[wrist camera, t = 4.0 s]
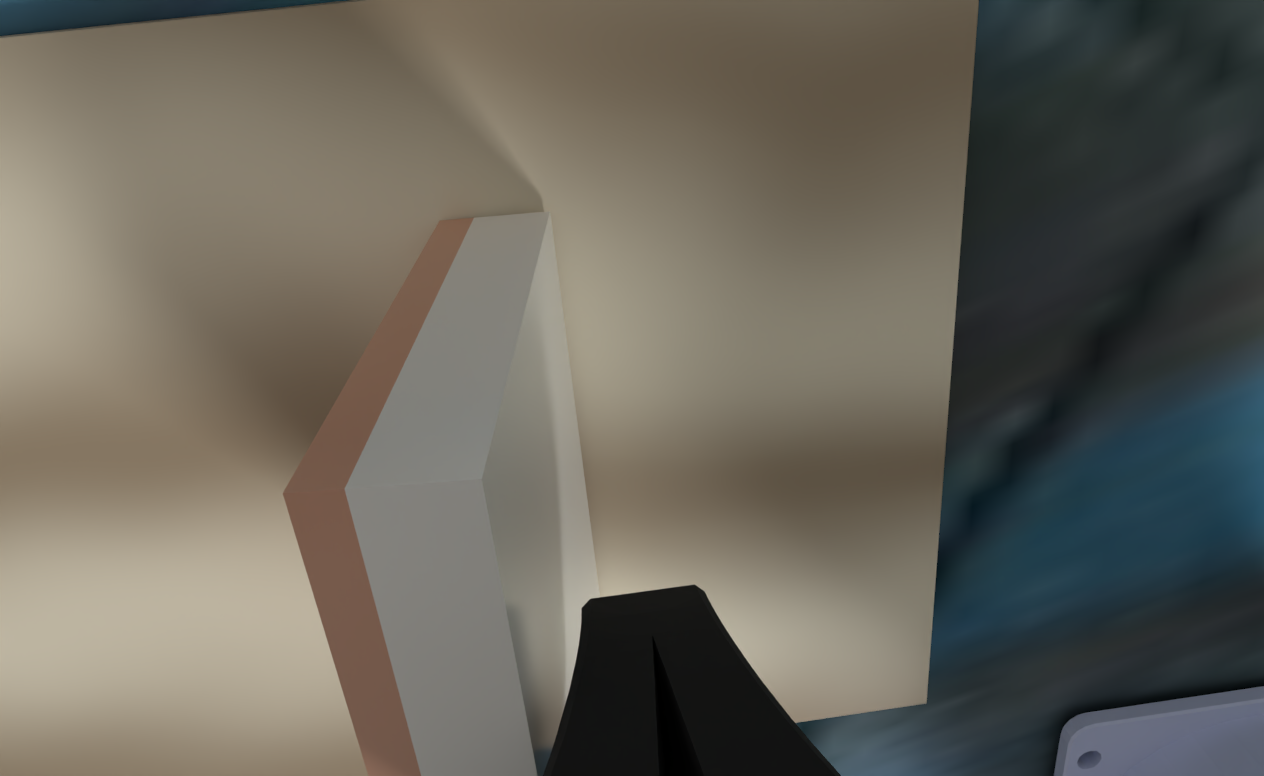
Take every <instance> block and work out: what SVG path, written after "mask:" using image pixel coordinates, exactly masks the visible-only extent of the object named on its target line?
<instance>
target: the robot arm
mask: <svg viewBox="0 0 1264 776" xmlns="http://www.w3.org/2000/svg"><path fill="white" fill-rule="evenodd" d="M543 776H841V775H840V774H839V773H838V772H837V771H836V769H835V768H834V767H833V766H832V765H831V764H830V763H829V762H828V761H827V759H826V758H825V757H824V756H823V755H822V754H821V753H820V752H819V750H818V749H817V748H816V747H815V746H814V745H813V744H812V743H811V741H810V740H809V739H808V738H807V737H806V735H805V734H804V733H803V732H802V731H801V729H800V728H799V727H798V726H797V725H796V724H795V722H794V721H793V720H792V719H791V717H790V716H789V715H788V714H787V712H786V711H785V710H784V708H783V707H782V706H781V705H780V703H779V702H778V701H777V700H776V698H775V697H774V696H773V694H772V693H771V692H770V691H769V689H768V688H767V687H766V686H765V684H764V683H763V682H762V680H761V679H760V678H759V676H758V675H757V674H756V672H755V671H754V669H753V668H752V667H751V665H750V664H749V663H748V661H747V660H746V658H745V657H744V655H743V654H742V652H741V651H740V649H739V648H738V647H737V645H736V644H735V642H734V641H733V639H732V638H731V636H730V635H729V633H728V631H727V630H726V628H725V627H724V625H723V624H722V622H721V620H720V619H719V617H718V615H717V614H716V612H715V610H714V608H713V607H712V605H711V603H710V601H709V599H708V597H707V595H706V593H705V591H703V590H702V589H701V588H699V587H698V586H696V585H695V584H694V585H687V586H680V587H672V588H665V589H658V590H650V591H643V592H636V593H628V594H621V595H614V596H606V597H599V598H592V599H590V600H589V601H588V602H587V603H586V604H585V605H584V606H583V607H582V611H581V631H580V639H579V646H578V652H577V657H576V662H575V667H574V671H573V676H572V680H571V685H570V689H569V693H568V696H567V700H566V703H565V707H564V710H563V714H562V717H561V721H560V724H559V728H558V731H557V735H556V738H555V742H554V745H553V748H552V751H551V754H550V757H549V760H548V763H547V765H546V768H545V771H544V774H543ZM1054 776H1264V686H1261V687H1254V688H1248V689H1241V690H1234V691H1227V692H1221V693H1214V694H1207V695H1201V696H1194V697H1187V698H1180V699H1174V700H1167V701H1160V702H1154V703H1147V704H1140V705H1134V706H1127V707H1120V708H1113V709H1107V710H1100V711H1093V712H1087V713H1083V714H1079V715H1076V716H1075V717H1073V718H1071V719H1070V720H1069V721H1068V722H1067V723H1066V724H1065V725H1064V727H1063V729H1062V732H1061V735H1060V741H1059V747H1058V753H1057V759H1056V765H1055V771H1054Z"/></svg>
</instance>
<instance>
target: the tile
mask: <svg viewBox="0 0 1264 776" xmlns="http://www.w3.org/2000/svg"><path fill="white" fill-rule="evenodd" d="M283 496H284V500H285V503H286V506H287V510H288V513H289V516H290V519H291V523H292V526H293V529H294V533H295V536H296V539H297V542H298V546H299V549H300V552H301V556H302V559H303V562H304V566H305V569H306V572H307V575H308V579H309V582H310V585H311V589H312V592H313V595H314V598H315V602H316V605H317V608H318V612H319V615H320V618H321V622H322V625H323V628H324V631H325V635H326V638H327V641H328V645H329V648H330V651H331V654H332V658H333V661H334V664H335V668H336V671H337V674H338V677H339V681H340V684H341V687H342V691H343V694H344V697H345V701H346V704H347V707H348V710H349V714H350V717H351V720H352V724H353V727H354V730H355V733H356V737H357V740H358V743H359V747H360V750H361V753H362V757H363V760H364V763H365V766H366V770H367V773H368V776H543V774H544V771H545V768H546V765H547V763H548V760H549V757H550V754H551V751H552V748H553V745H554V742H555V738H556V735H557V731H558V728H559V724H560V721H561V717H562V714H563V710H564V707H565V703H566V700H567V696H568V693H569V689H570V685H571V680H572V676H573V671H574V667H575V662H576V657H577V652H578V646H579V639H580V631H581V611H582V607H583V606H584V605H585V604H586V603H587V602H588V601H589V600H590V599H592V598H599V597H600V593H599V585H598V578H597V570H596V562H595V554H594V547H593V539H592V531H591V524H590V516H589V508H588V500H587V493H586V485H585V477H584V469H583V462H582V454H581V446H580V438H579V431H578V423H577V415H576V408H575V400H574V392H573V384H572V377H571V369H570V361H569V353H568V346H567V338H566V330H565V323H564V315H563V307H562V299H561V292H560V284H559V276H558V268H557V261H556V253H555V245H554V237H553V230H552V222H551V214H550V211H548V212H536V213H524V214H512V215H500V216H488V217H476V218H464V219H452V220H440V221H439V222H438V224H437V226H436V228H435V229H434V231H433V233H432V235H431V236H430V238H429V240H428V242H427V243H426V245H425V247H424V248H423V250H422V252H421V254H420V255H419V257H418V259H417V261H416V262H415V264H414V266H413V268H412V269H411V271H410V273H409V275H408V276H407V278H406V280H405V281H404V283H403V285H402V287H401V288H400V290H399V292H398V294H397V295H396V297H395V299H394V301H393V302H392V304H391V306H390V308H389V309H388V311H387V313H386V315H385V316H384V318H383V320H382V321H381V323H380V325H379V327H378V328H377V330H376V332H375V334H374V335H373V337H372V339H371V341H370V342H369V344H368V346H367V348H366V349H365V351H364V353H363V355H362V356H361V358H360V360H359V361H358V363H357V365H356V367H355V368H354V370H353V372H352V374H351V375H350V377H349V379H348V381H347V382H346V384H345V386H344V388H343V389H342V391H341V393H340V394H339V396H338V398H337V400H336V401H335V403H334V405H333V407H332V408H331V410H330V412H329V414H328V415H327V417H326V419H325V421H324V422H323V424H322V426H321V428H320V429H319V431H318V433H317V434H316V436H315V438H314V440H313V441H312V443H311V445H310V447H309V448H308V450H307V452H306V454H305V455H304V457H303V459H302V461H301V462H300V464H299V466H298V468H297V469H296V471H295V473H294V474H293V476H292V478H291V480H290V481H289V483H288V485H287V487H286V488H285V490H284V492H283Z"/></svg>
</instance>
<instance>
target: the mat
mask: <svg viewBox="0 0 1264 776" xmlns="http://www.w3.org/2000/svg"><path fill="white" fill-rule="evenodd" d="M978 5H979V0H348V1H338V2H328V3H319V4H309V5H299V6H289V7H280V8H270V9H260V10H250V11H241V12H231V13H221V14H211V15H202V16H192V17H182V18H172V19H163V20H153V21H143V22H133V23H124V24H114V25H104V26H94V27H85V28H75V29H65V30H55V31H46V32H36V33H26V34H16V35H7V36H0V776H368V773H367V770H366V766H365V763H364V760H363V757H362V753H361V750H360V747H359V743H358V740H357V737H356V733H355V730H354V727H353V724H352V720H351V717H350V714H349V710H348V707H347V704H346V701H345V697H344V694H343V691H342V687H341V684H340V681H339V677H338V674H337V671H336V668H335V664H334V661H333V658H332V654H331V651H330V648H329V645H328V641H327V638H326V635H325V631H324V628H323V625H322V622H321V618H320V615H319V612H318V608H317V605H316V602H315V598H314V595H313V592H312V589H311V585H310V582H309V579H308V575H307V572H306V569H305V566H304V562H303V559H302V556H301V552H300V549H299V546H298V542H297V539H296V536H295V533H294V529H293V526H292V523H291V519H290V516H289V513H288V510H287V506H286V503H285V500H284V496H283V492H284V490H285V488H286V487H287V485H288V483H289V481H290V480H291V478H292V476H293V474H294V473H295V471H296V469H297V468H298V466H299V464H300V462H301V461H302V459H303V457H304V455H305V454H306V452H307V450H308V448H309V447H310V445H311V443H312V441H313V440H314V438H315V436H316V434H317V433H318V431H319V429H320V428H321V426H322V424H323V422H324V421H325V419H326V417H327V415H328V414H329V412H330V410H331V408H332V407H333V405H334V403H335V401H336V400H337V398H338V396H339V394H340V393H341V391H342V389H343V388H344V386H345V384H346V382H347V381H348V379H349V377H350V375H351V374H352V372H353V370H354V368H355V367H356V365H357V363H358V361H359V360H360V358H361V356H362V355H363V353H364V351H365V349H366V348H367V346H368V344H369V342H370V341H371V339H372V337H373V335H374V334H375V332H376V330H377V328H378V327H379V325H380V323H381V321H382V320H383V318H384V316H385V315H386V313H387V311H388V309H389V308H390V306H391V304H392V302H393V301H394V299H395V297H396V295H397V294H398V292H399V290H400V288H401V287H402V285H403V283H404V281H405V280H406V278H407V276H408V275H409V273H410V271H411V269H412V268H413V266H414V264H415V262H416V261H417V259H418V257H419V255H420V254H421V252H422V250H423V248H424V247H425V245H426V243H427V242H428V240H429V238H430V236H431V235H432V233H433V231H434V229H435V228H436V226H437V224H438V222H439V221H440V220H452V219H464V218H476V217H488V216H500V215H512V214H524V213H536V212H548V211H550V214H551V222H552V230H553V237H554V245H555V253H556V261H557V268H558V276H559V284H560V292H561V299H562V307H563V315H564V323H565V330H566V338H567V346H568V353H569V361H570V369H571V377H572V384H573V392H574V400H575V408H576V415H577V423H578V431H579V438H580V446H581V454H582V462H583V469H584V477H585V485H586V493H587V500H588V508H589V516H590V524H591V531H592V539H593V547H594V554H595V562H596V570H597V578H598V585H599V593H600V597H606V596H614V595H621V594H628V593H636V592H643V591H650V590H658V589H665V588H672V587H680V586H687V585H694V584H695V585H696V586H698V587H699V588H701V589H702V590H703V591H705V593H706V595H707V597H708V599H709V601H710V603H711V605H712V607H713V608H714V610H715V612H716V614H717V615H718V617H719V619H720V620H721V622H722V624H723V625H724V627H725V628H726V630H727V631H728V633H729V635H730V636H731V638H732V639H733V641H734V642H735V644H736V645H737V647H738V648H739V649H740V651H741V652H742V654H743V655H744V657H745V658H746V660H747V661H748V663H749V664H750V665H751V667H752V668H753V669H754V671H755V672H756V674H757V675H758V676H759V678H760V679H761V680H762V682H763V683H764V684H765V686H766V687H767V688H768V689H769V691H770V692H771V693H772V694H773V696H774V697H775V698H776V700H777V701H778V702H779V703H780V705H781V706H782V707H783V708H784V710H785V711H786V712H787V714H788V715H789V716H790V717H791V719H792V720H793V721H794V722H795V723H797V722H804V721H810V720H817V719H824V718H831V717H837V716H844V715H851V714H858V713H865V712H871V711H878V710H885V709H892V708H899V707H905V706H912V705H919V704H926V703H927V689H928V676H929V662H930V649H931V635H932V622H933V609H934V595H935V582H936V568H937V555H938V542H939V528H940V515H941V501H942V488H943V474H944V461H945V448H946V434H947V421H948V407H949V394H950V381H951V367H952V354H953V340H954V327H955V314H956V300H957V287H958V273H959V260H960V246H961V233H962V220H963V206H964V193H965V179H966V166H967V153H968V139H969V126H970V112H971V99H972V85H973V72H974V59H975V45H976V32H977V18H978Z"/></svg>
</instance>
